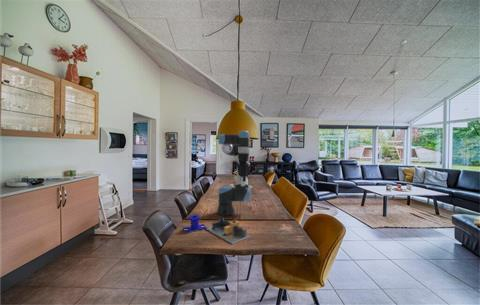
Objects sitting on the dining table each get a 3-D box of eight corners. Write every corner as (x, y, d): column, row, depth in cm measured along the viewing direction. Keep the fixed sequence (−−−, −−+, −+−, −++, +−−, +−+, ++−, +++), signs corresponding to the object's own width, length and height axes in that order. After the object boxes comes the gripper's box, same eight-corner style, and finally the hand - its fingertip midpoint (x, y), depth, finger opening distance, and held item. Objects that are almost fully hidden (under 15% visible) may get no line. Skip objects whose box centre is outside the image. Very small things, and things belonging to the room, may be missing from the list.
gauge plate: (206, 229, 145) (206, 219, 145) (222, 224, 154) (222, 215, 154) (232, 244, 124) (232, 232, 124) (249, 237, 134) (249, 226, 133)
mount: (203, 225, 152) (203, 213, 152) (206, 229, 146) (206, 216, 146) (182, 229, 145) (182, 216, 145) (185, 233, 139) (185, 220, 138)
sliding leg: (223, 233, 135) (223, 222, 135) (235, 229, 142) (235, 218, 142) (226, 235, 132) (226, 223, 132) (238, 230, 140) (239, 219, 139)
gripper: (233, 152, 152) (233, 185, 153) (245, 153, 142) (245, 187, 143) (241, 152, 157) (240, 183, 158) (253, 153, 147) (253, 186, 148)
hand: (242, 185), depth 150 cm, fingers closed
